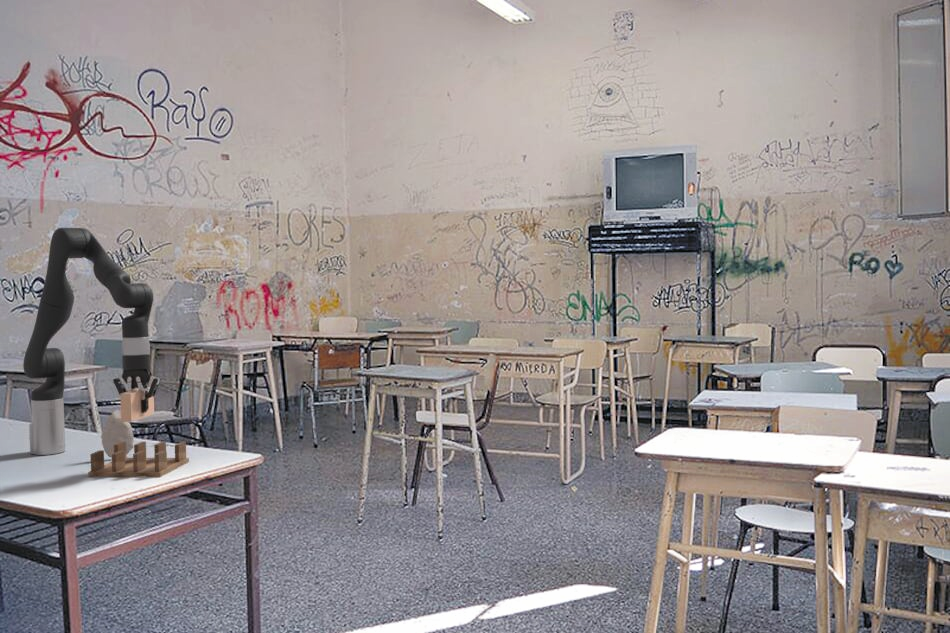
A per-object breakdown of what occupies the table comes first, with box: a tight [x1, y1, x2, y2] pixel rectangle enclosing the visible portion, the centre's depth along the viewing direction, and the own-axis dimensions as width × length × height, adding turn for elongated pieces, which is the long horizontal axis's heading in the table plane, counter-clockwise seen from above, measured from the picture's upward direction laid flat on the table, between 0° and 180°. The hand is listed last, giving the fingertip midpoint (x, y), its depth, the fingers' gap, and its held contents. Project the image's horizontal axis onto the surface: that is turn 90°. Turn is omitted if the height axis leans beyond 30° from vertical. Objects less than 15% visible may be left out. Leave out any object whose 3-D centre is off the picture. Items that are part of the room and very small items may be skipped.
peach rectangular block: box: [119, 386, 155, 423], centre depth 249 cm, size 3×14×8 cm, turn 175°
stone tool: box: [100, 409, 135, 459], centre depth 265 cm, size 9×3×15 cm, turn 123°
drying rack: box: [87, 441, 190, 478], centre depth 250 cm, size 21×19×6 cm
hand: (138, 412), depth 249 cm, fingers closed on peach rectangular block, 3 cm apart
